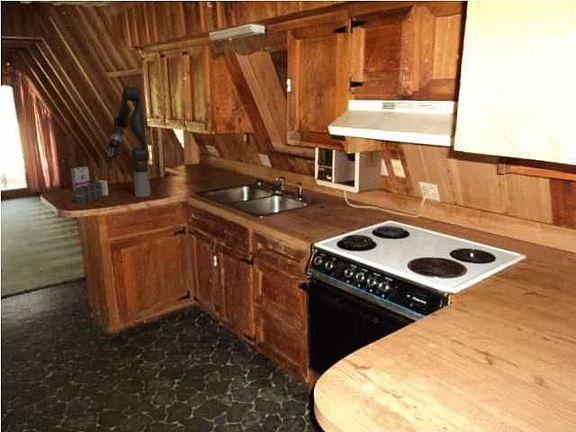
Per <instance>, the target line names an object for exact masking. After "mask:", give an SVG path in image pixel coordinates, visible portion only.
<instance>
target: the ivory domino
mask: <svg viewBox="0 0 576 432" xmlns="http://www.w3.org/2000/svg"><path fill="white" fill-rule="evenodd" d="M98 182H102V193H103V196H108V195H109V190H108V189H109V188H108V181H107V180H102V179H101V180H98Z"/></svg>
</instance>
